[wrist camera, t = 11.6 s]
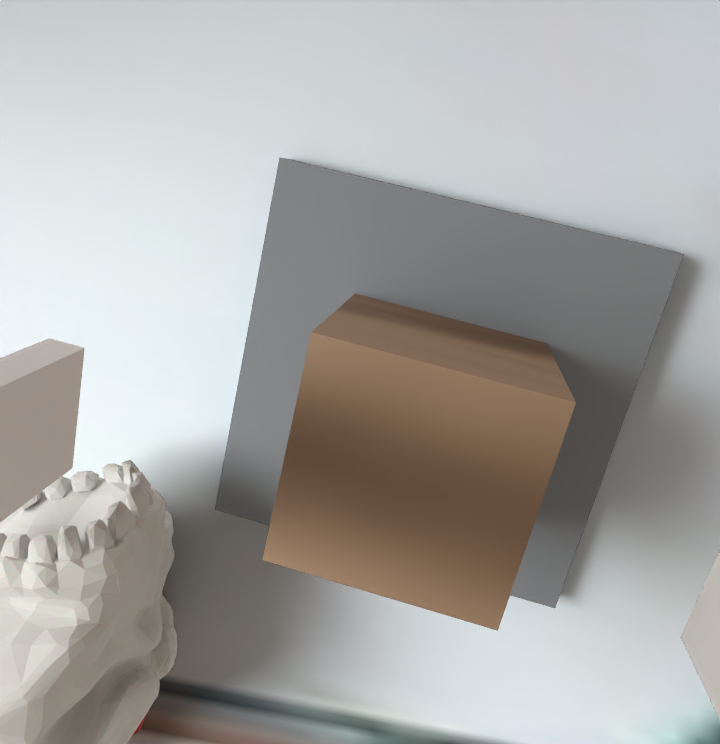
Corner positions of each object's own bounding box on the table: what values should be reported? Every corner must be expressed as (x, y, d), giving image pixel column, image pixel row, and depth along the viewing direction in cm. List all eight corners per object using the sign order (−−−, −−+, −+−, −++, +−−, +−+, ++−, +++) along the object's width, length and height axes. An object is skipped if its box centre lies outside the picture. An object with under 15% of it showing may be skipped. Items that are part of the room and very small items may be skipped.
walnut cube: (355, 293, 21) (311, 331, 15) (546, 343, 20) (575, 402, 15) (314, 466, 23) (262, 560, 17) (491, 516, 22) (497, 630, 16)
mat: (286, 158, 21) (279, 157, 20) (675, 252, 20) (683, 254, 19) (223, 499, 24) (215, 509, 24) (552, 594, 23) (554, 608, 23)
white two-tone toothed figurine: (205, 426, 23) (227, 740, 29) (-92, 399, 25) (-15, 703, 30) (58, 608, 15) (130, 998, 21) (-373, 551, 17) (-195, 929, 22)
